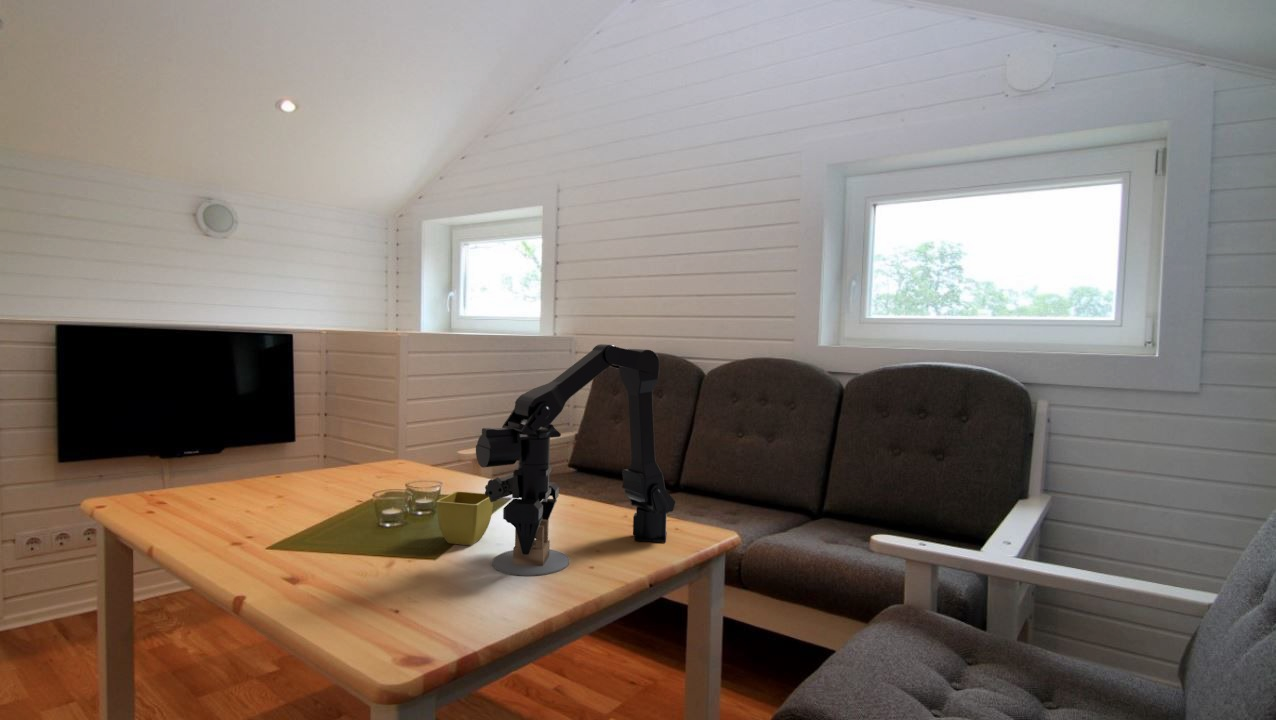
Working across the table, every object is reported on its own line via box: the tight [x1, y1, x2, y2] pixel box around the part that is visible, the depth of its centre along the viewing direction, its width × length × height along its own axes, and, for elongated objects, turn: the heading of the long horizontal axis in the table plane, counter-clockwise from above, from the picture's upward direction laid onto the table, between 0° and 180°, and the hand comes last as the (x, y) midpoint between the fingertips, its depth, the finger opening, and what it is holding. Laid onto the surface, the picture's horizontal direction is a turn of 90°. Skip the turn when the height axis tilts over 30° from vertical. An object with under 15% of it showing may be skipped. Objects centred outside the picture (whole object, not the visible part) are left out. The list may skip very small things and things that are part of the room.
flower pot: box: [435, 490, 494, 546], centre depth 134 cm, size 9×9×9 cm
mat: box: [492, 548, 570, 577], centre depth 123 cm, size 14×14×1 cm
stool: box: [512, 519, 551, 566], centre depth 123 cm, size 6×6×7 cm
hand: (531, 546), depth 123 cm, fingers open, 9 cm apart
